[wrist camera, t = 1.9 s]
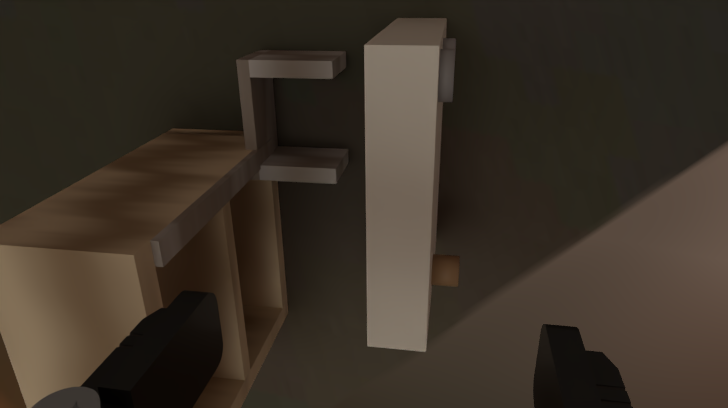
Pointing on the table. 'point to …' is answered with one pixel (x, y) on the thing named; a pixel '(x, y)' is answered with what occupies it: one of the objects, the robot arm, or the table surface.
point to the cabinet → (164, 242)
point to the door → (405, 177)
